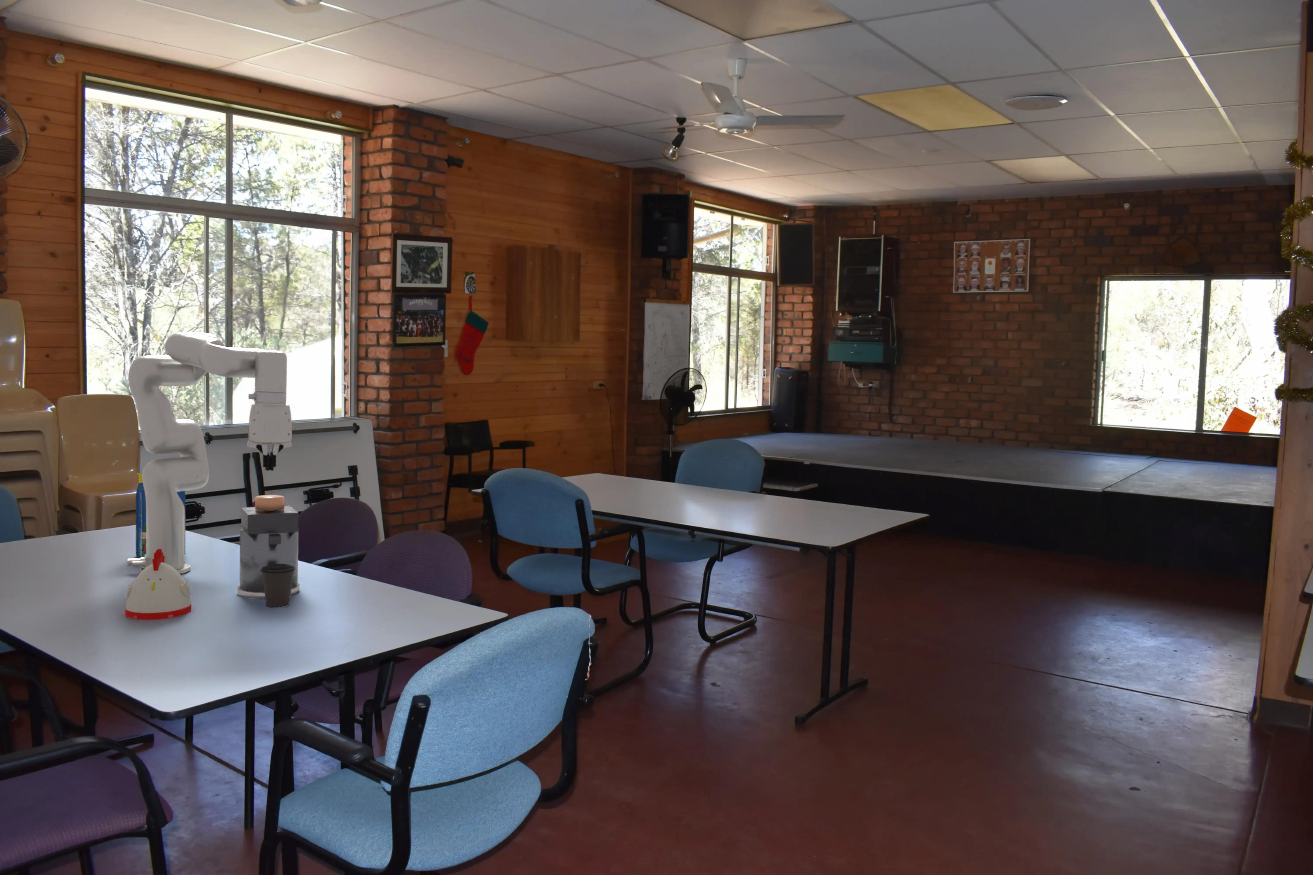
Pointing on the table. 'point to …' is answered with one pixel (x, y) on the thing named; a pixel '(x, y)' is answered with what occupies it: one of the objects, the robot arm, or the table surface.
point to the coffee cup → (277, 584)
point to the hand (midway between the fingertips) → (269, 469)
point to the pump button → (269, 502)
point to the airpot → (266, 547)
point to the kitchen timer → (158, 592)
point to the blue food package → (144, 517)
